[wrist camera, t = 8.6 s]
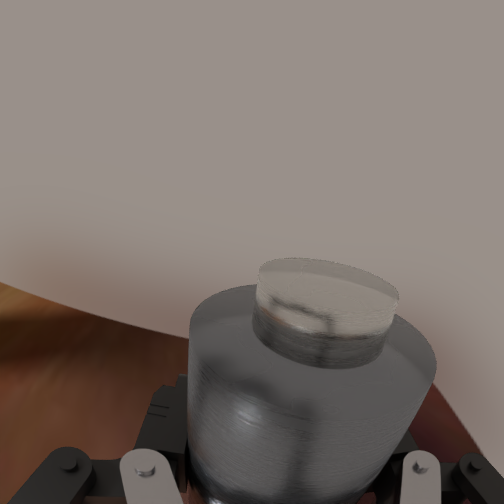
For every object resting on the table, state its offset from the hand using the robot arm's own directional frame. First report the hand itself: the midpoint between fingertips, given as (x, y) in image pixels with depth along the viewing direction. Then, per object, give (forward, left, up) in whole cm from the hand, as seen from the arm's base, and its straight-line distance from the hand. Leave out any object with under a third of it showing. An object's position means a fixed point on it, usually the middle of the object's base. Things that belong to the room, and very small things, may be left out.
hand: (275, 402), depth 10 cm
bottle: (0, -3, -8) cm, 8 cm away
